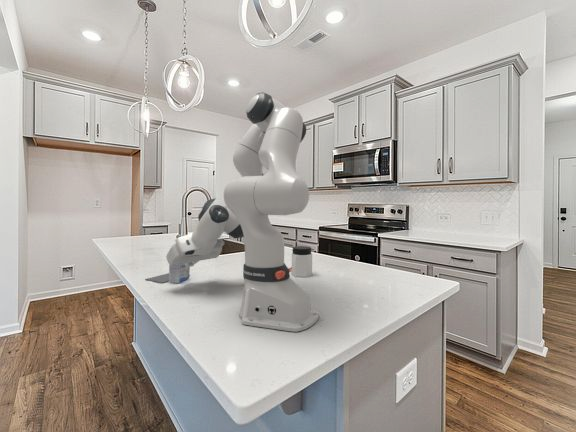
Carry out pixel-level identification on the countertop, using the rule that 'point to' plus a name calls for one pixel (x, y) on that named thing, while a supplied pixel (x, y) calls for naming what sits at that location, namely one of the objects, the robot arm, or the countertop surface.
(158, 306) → the countertop surface
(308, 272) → the jar
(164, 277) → the mat
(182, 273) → the medicine box
